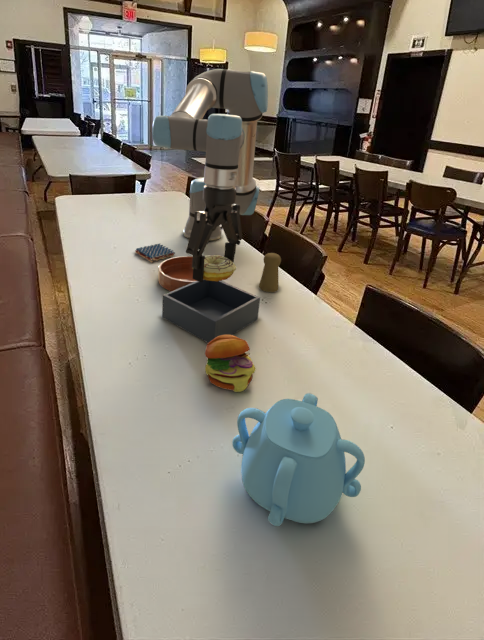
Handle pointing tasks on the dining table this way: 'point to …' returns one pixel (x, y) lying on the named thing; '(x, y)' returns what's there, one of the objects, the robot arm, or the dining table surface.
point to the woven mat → (154, 252)
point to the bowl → (176, 272)
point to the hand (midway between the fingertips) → (213, 273)
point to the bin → (210, 308)
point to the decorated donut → (218, 268)
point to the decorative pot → (296, 460)
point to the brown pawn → (270, 273)
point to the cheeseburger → (229, 363)
